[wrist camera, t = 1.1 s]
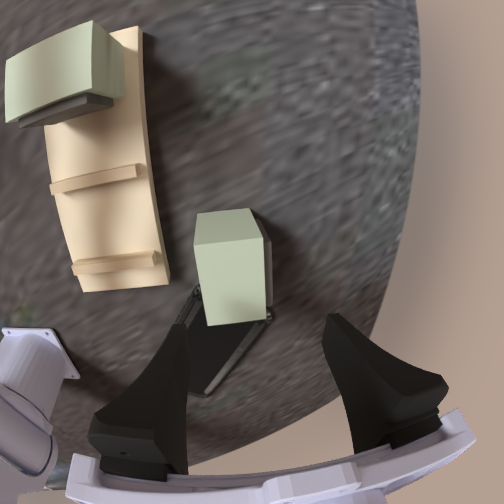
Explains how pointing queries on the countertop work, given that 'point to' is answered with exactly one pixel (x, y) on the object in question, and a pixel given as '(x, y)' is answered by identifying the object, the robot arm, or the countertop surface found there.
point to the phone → (215, 345)
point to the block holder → (95, 150)
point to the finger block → (233, 266)
